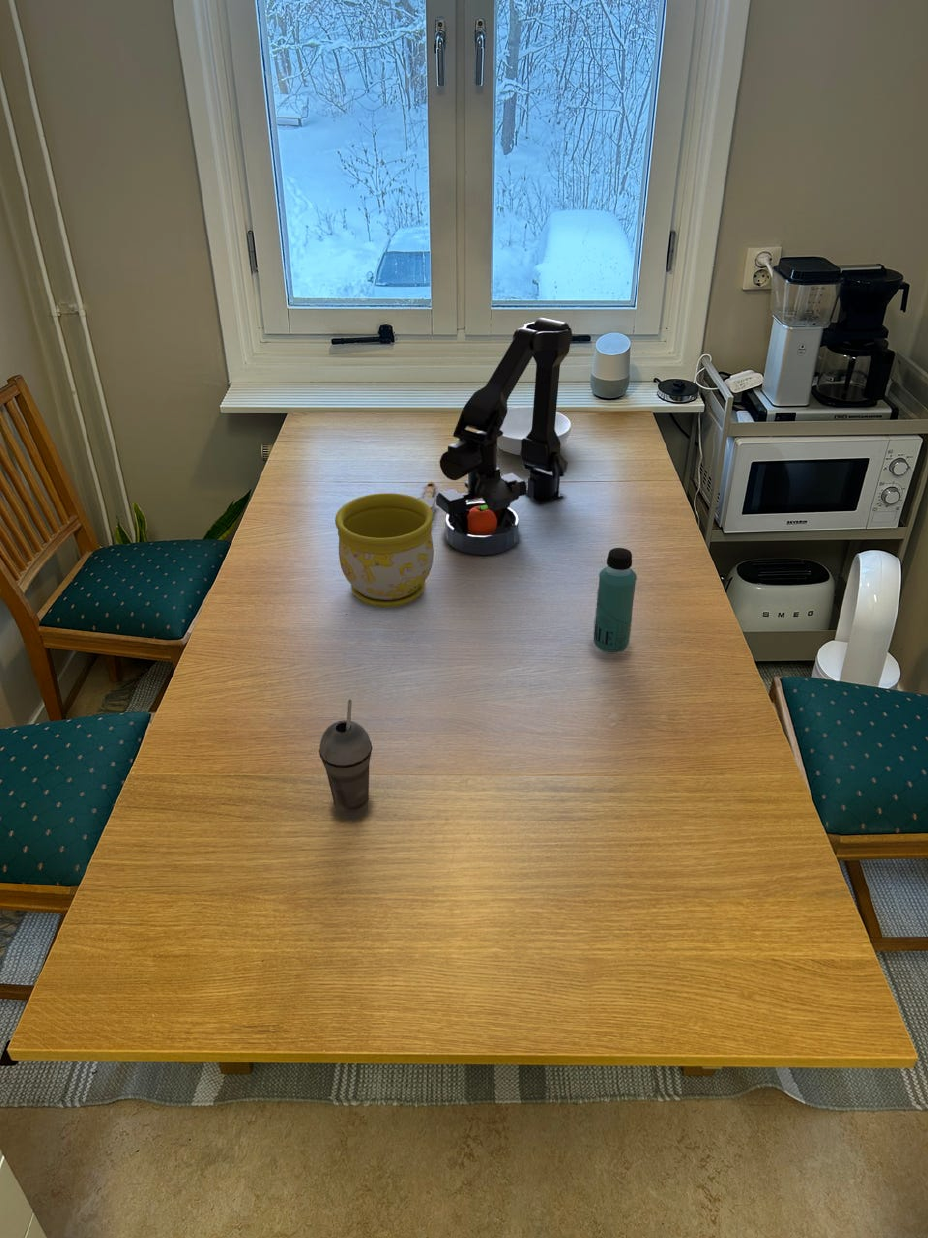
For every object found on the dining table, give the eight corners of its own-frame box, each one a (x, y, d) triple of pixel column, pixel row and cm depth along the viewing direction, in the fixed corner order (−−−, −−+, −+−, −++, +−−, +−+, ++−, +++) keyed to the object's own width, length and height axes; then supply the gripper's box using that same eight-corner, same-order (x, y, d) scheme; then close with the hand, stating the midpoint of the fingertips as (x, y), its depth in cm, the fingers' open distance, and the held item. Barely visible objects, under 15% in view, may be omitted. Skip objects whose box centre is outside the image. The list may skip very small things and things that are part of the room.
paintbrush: (411, 517, 195) (423, 479, 212) (412, 529, 196) (423, 489, 213) (429, 518, 195) (440, 479, 211) (430, 530, 196) (440, 490, 213)
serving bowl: (573, 466, 222) (574, 439, 218) (486, 466, 222) (486, 439, 218) (566, 430, 239) (567, 405, 235) (485, 430, 239) (485, 405, 235)
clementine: (483, 523, 199) (483, 494, 194) (506, 535, 194) (507, 505, 190) (457, 536, 194) (456, 506, 190) (480, 548, 190) (480, 518, 186)
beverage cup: (327, 791, 135) (313, 685, 123) (377, 788, 135) (368, 682, 123) (325, 829, 129) (311, 721, 117) (377, 825, 129) (368, 718, 118)
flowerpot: (322, 591, 178) (314, 516, 168) (390, 555, 188) (386, 483, 179) (386, 628, 168) (381, 551, 158) (454, 588, 178) (453, 513, 169)
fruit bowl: (493, 513, 203) (493, 495, 200) (531, 543, 192) (532, 524, 190) (433, 531, 197) (432, 512, 194) (469, 563, 186) (469, 544, 183)
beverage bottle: (632, 642, 164) (644, 545, 152) (624, 664, 159) (636, 565, 147) (596, 635, 166) (605, 539, 154) (587, 656, 161) (596, 558, 149)
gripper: (462, 488, 175) (462, 558, 184) (543, 466, 182) (540, 535, 191) (434, 466, 183) (435, 534, 192) (513, 446, 190) (510, 512, 199)
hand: (481, 529), depth 193 cm, fingers closed on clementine, 8 cm apart
